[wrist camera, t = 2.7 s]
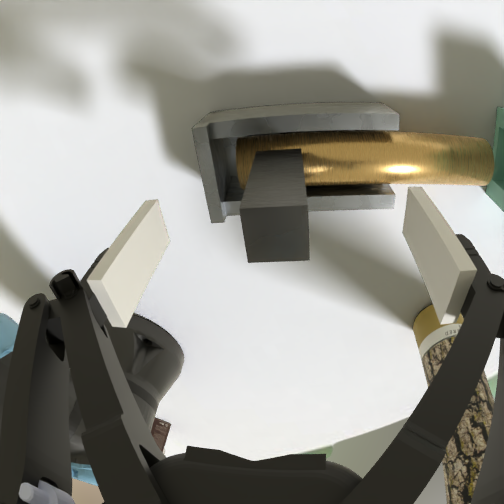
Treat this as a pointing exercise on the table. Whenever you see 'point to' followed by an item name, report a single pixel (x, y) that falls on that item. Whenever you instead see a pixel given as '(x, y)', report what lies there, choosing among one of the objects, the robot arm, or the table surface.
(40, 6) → the table surface
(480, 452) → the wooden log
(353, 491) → the robot arm
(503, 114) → the socket block
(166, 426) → the box
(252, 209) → the brass sliding bolt
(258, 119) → the grey bracket
